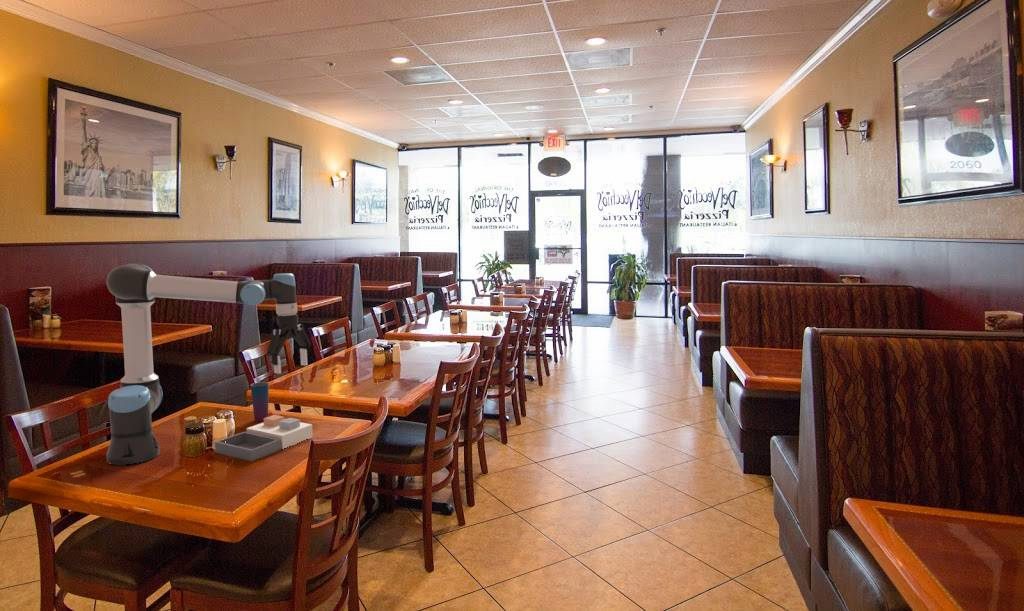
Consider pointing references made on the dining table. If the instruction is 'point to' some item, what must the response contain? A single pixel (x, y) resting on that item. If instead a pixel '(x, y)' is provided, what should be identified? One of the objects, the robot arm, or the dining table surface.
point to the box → (247, 446)
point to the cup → (260, 400)
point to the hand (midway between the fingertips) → (291, 369)
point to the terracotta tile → (273, 420)
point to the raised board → (283, 433)
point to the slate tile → (289, 423)
